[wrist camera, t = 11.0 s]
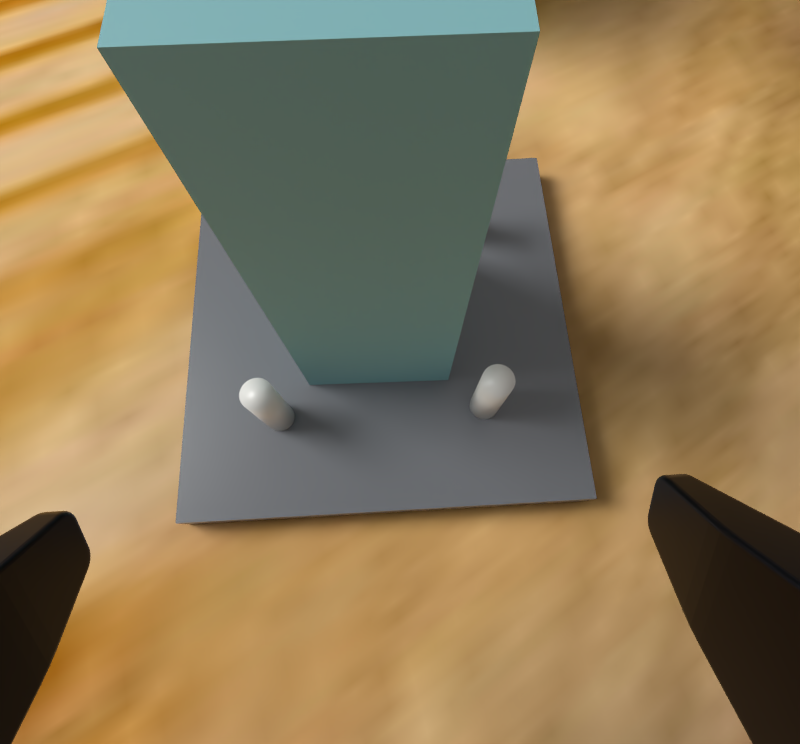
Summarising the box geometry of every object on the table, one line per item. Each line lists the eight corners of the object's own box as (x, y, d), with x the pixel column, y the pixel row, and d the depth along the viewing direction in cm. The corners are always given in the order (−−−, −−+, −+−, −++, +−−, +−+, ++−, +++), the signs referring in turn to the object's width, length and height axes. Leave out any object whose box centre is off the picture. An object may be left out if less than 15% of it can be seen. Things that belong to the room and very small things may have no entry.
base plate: (586, 500, 18) (636, 490, 14) (188, 523, 17) (127, 520, 14) (530, 174, 22) (557, 98, 18) (213, 191, 22) (172, 118, 18)
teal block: (447, 380, 18) (540, 30, 6) (309, 384, 18) (96, 46, 6) (440, 258, 20) (497, -221, 7) (312, 263, 20) (152, -208, 7)
